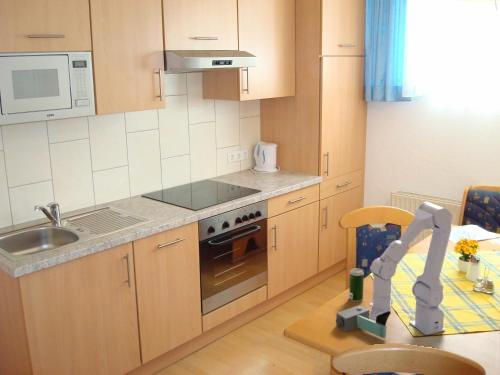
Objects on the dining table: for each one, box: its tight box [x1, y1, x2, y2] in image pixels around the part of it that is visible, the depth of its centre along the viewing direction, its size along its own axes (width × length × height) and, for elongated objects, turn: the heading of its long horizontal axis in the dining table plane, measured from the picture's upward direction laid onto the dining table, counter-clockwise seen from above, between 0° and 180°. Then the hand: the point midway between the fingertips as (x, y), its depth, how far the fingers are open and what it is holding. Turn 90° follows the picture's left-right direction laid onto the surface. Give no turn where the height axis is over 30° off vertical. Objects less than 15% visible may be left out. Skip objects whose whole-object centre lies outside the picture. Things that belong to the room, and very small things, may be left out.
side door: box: [357, 315, 387, 339], centre depth 185 cm, size 12×1×4 cm, turn 42°
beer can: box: [348, 267, 365, 303], centre depth 210 cm, size 5×5×12 cm
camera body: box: [335, 304, 370, 332], centre depth 191 cm, size 12×5×6 cm, turn 122°
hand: (380, 330), depth 183 cm, fingers closed, pressing on side door
